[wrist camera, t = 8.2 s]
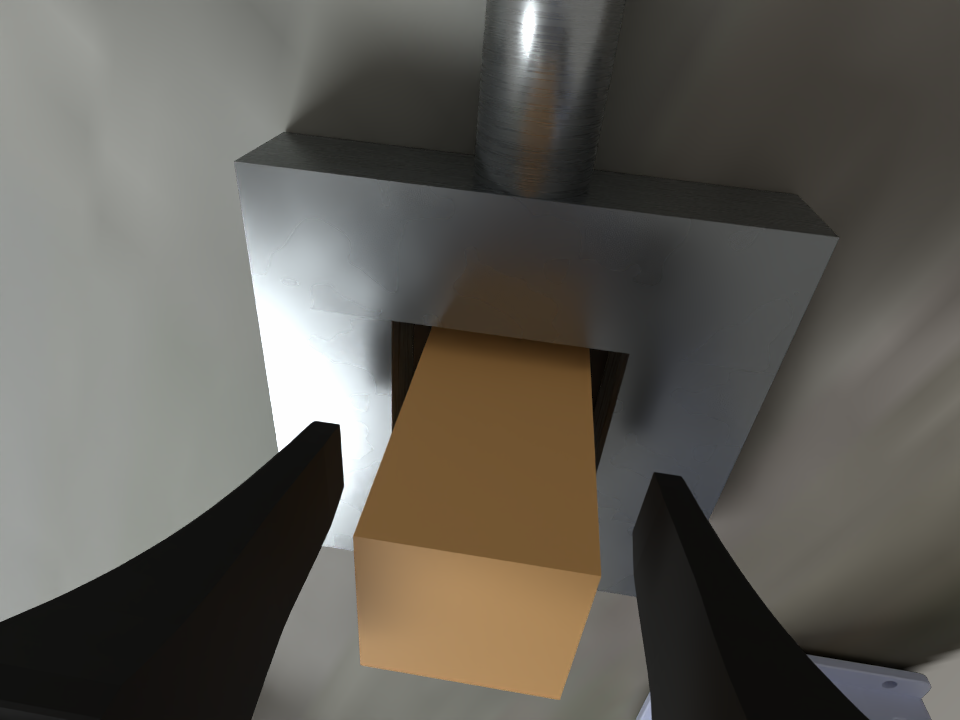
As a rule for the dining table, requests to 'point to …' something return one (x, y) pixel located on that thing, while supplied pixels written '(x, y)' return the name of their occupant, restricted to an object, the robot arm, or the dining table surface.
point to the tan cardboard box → (483, 518)
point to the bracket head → (528, 273)
